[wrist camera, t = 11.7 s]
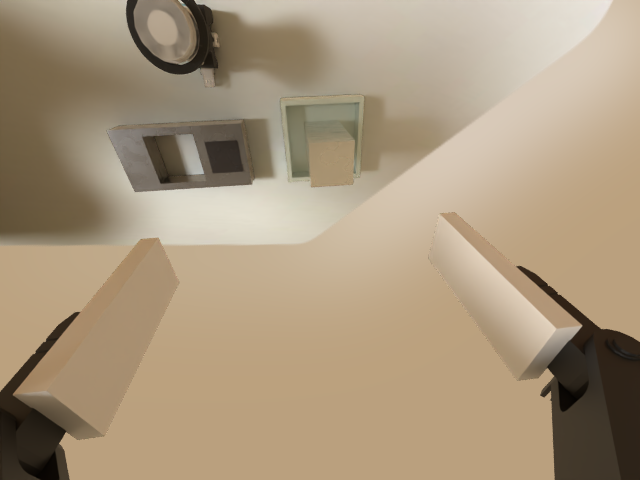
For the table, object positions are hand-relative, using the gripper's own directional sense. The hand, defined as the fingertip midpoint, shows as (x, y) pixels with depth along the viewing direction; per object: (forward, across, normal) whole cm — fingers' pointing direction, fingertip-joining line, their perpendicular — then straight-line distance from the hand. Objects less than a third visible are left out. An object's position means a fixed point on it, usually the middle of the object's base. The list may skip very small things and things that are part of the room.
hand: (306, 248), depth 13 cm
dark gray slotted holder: (+24, -13, -1) cm, 27 cm away
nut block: (+23, +3, 0) cm, 23 cm away
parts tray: (+23, +3, 0) cm, 23 cm away
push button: (+24, -8, +9) cm, 27 cm away
